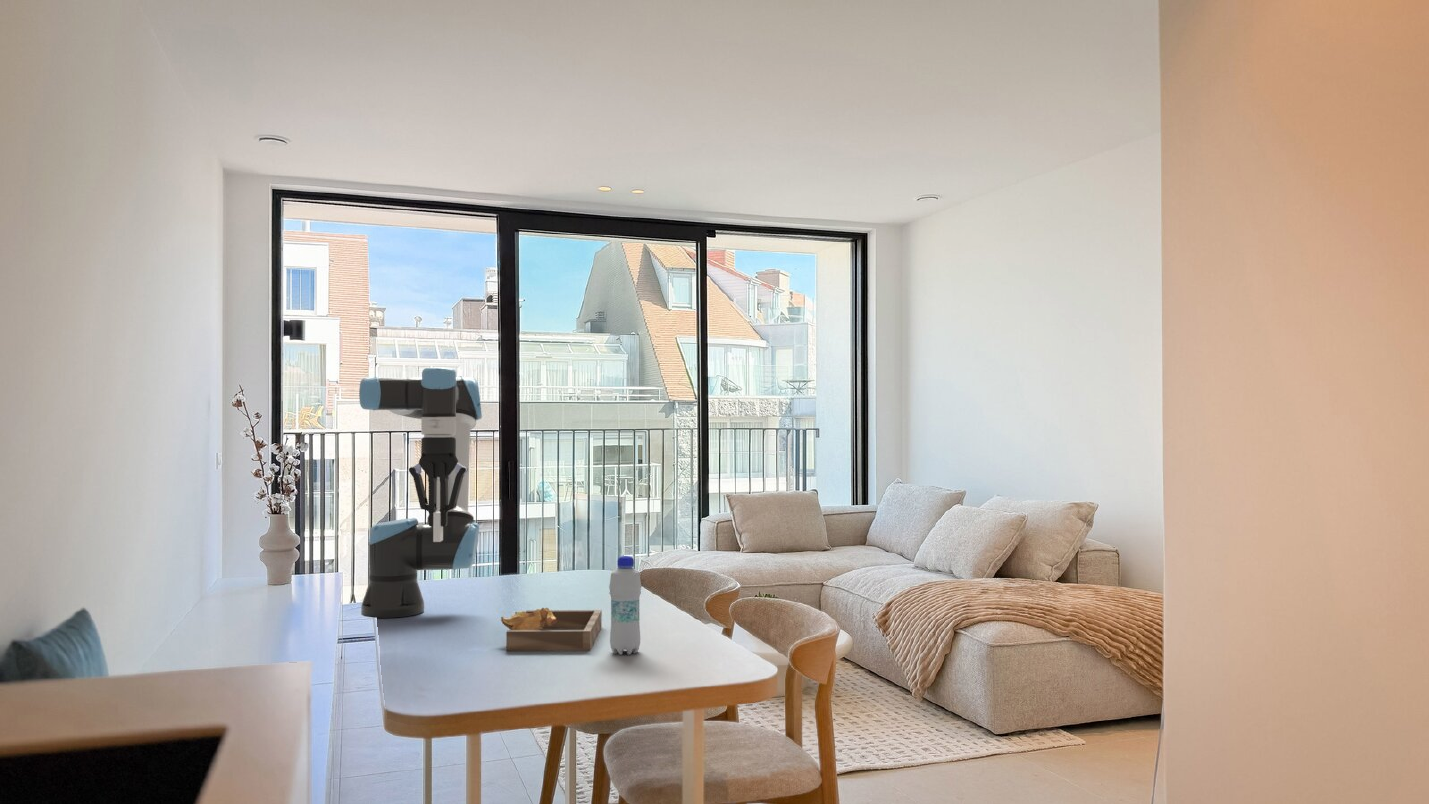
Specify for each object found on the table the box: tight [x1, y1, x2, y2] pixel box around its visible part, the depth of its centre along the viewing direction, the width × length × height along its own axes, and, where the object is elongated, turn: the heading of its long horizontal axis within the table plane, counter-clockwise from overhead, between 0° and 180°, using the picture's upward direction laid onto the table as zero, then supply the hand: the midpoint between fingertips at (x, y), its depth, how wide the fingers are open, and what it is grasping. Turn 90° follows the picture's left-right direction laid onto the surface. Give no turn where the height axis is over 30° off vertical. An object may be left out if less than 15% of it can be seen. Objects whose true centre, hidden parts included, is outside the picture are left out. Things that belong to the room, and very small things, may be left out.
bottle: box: [608, 555, 642, 656], centre depth 204 cm, size 7×7×20 cm
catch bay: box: [505, 609, 603, 652], centre depth 217 cm, size 24×18×4 cm
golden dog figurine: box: [500, 607, 557, 630], centre depth 212 cm, size 12×10×8 cm
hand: (438, 540), depth 220 cm, fingers closed
